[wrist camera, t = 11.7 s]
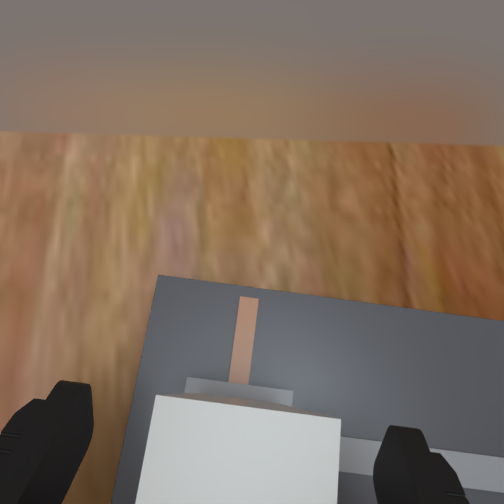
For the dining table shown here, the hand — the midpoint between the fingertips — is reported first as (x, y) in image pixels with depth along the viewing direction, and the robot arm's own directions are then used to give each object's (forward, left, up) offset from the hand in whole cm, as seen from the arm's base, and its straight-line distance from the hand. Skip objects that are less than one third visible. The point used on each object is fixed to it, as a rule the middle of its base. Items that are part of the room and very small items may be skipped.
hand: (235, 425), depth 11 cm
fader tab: (0, +1, -5) cm, 5 cm away
